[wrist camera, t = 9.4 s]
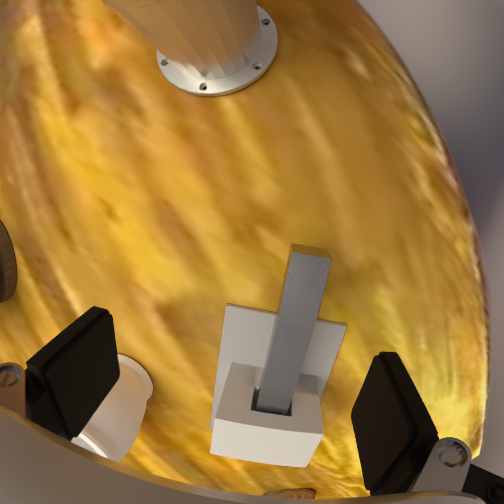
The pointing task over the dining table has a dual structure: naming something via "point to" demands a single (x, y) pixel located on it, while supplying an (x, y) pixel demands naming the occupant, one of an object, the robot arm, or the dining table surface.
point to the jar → (118, 413)
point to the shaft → (293, 327)
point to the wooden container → (6, 266)
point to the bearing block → (247, 385)
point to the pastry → (293, 493)
